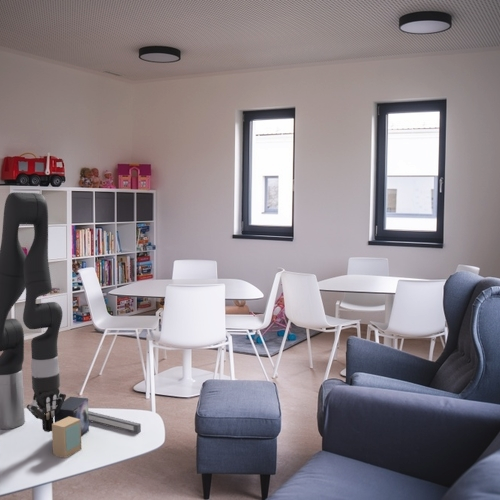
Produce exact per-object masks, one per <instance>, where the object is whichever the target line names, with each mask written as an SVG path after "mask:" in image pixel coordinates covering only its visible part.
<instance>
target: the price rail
mask: <svg viewBox="0 0 500 500" xmlns="http://www.w3.org/2000/svg"><path fill="white" fill-rule="evenodd" d="M88 417H89V422H92V423H96V424H99V425H103V426H106V427H107V426H108V427H111V428H115V429H118V430H119V429H120V430H124V431H128V432H131V433H134V434H135V433H136V434H139V433H141V431H142V430H141V429H142V428H141V425H142V424H141V423H138V422H134V421H131V420H126V419H122V418H119V417H115V416H110V415H107V414H101V413H98V412H94V411H90V410H88Z"/></svg>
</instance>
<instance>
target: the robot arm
mask: <svg viewBox="0 0 500 500" xmlns="http://www.w3.org/2000/svg"><path fill="white" fill-rule="evenodd" d="M2 216H3V218H2V220H3V221H2V233H1V241H0V352H1V354H0V429H2V430H6V429H8V430H10V429H14V428H19V427H21V426H22V425H24V424H25V422H26V418H25V417H26V416H25V397H24V377H23V376H24V375H23V364H24V360H25V333H24V328H23V325H22V323H21V322H20V321H19V320H18V319H16V318H8V316H9V313H10V311H11V310H12V308H13V307H14V305H15V304H16V303H17V302H18V300H19V299H20V298H21V297H22V295H23V293H24V292H25V300H24V301H25V302H24V306H23V307H24V308H23V314H22V322H23V324H24V325H25V327H26V328H27V329H29V330H38V329H46V331H45V332H44V333H42V334H38V335H37V336H34V337H33V338H32V339H31V342H30V345H31V346H30V347H31V350H30V351H31V370H30V371H31V387H32V390H33V396H32V402H31V403H30V404H27V405H26V409H27V410H28V411H29V412H30V413H31V414H32V415H33V416H34V417H35V418H36V419H37V420H38V419H39V420H41V424H42V430H43V431H44V432H45V433H49V432H52V424H53V423H54V415H55V414H58V413H59V411H60V409H61V406H62V404H63V402H64V401H65V400H66V398H67V395H66V394H65V393H62V392H60V389H59V388H60V386H61V383H60V382H61V381H60V377H61V376H60V362H59V357H58V340H59V339H58V338H59V333H60V330H61V324H62V322H63V321H62V320H63V310H62V307H61V305H60V304H59V303H58V302H56V301H50V302H49V301H48V302H40V303H37V298H39V297H43V296H44V295H45V296H46V295H47V294H50V293H51V292H52V289H53V287H52V286H53V285H52V279H51V271H50V266H49V265H50V263H49V208H48V202H47V199H46V197H45V196H44V195H43V194H41V193H38V192H11V193H9V194H8V195H7V196H6V198H5V203H4V207H3V215H2ZM20 225H22V226H23V225H28V226H29V225H30V226H33V231H34V234H33V235H34V236H33V239H32V243H31V246H30V248H29V250H28V252H27V254H26V253H25V251H24V249H23V247H22V246H21V243H20V241H19V240H20V239H19V229H20V228H19V227H20ZM56 407H57V408H56Z"/></svg>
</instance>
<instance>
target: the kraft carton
mask: <svg viewBox="0 0 500 500" xmlns="http://www.w3.org/2000/svg"><path fill="white" fill-rule="evenodd" d="M51 435H52V437H51V438H52V439H51V440H52V455H53V456H57V457H60V458H63V459H66V458H68V457H70V456H72V455H74V454H76V453H78V452H79V451H81V450H82V437H81V421H80V419H77V418H73V417H66V418H64V419H62V420H60V421H58V422H55V421H54V422H53V424H52V431H51Z"/></svg>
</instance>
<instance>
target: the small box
mask: <svg viewBox="0 0 500 500" xmlns="http://www.w3.org/2000/svg"><path fill="white" fill-rule="evenodd" d="M56 408H57V406H56ZM88 411H89V398H86V397H79V396H69V397H68V398H67V399H66V398H65V400H64V402H63V404H62V406H61V409H60V411H59V413H58V414H55V415H54V418H53V420H54V423H55V422H58V421H60V420H62V419H64V418H66V417H73V418H77V419H80V421H81V438H82V437H83V436H84V435H86V434H87V432H89V431H90V430H89V429H90V426H89V425H90V424H89V422H90V421H89V417H88Z"/></svg>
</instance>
